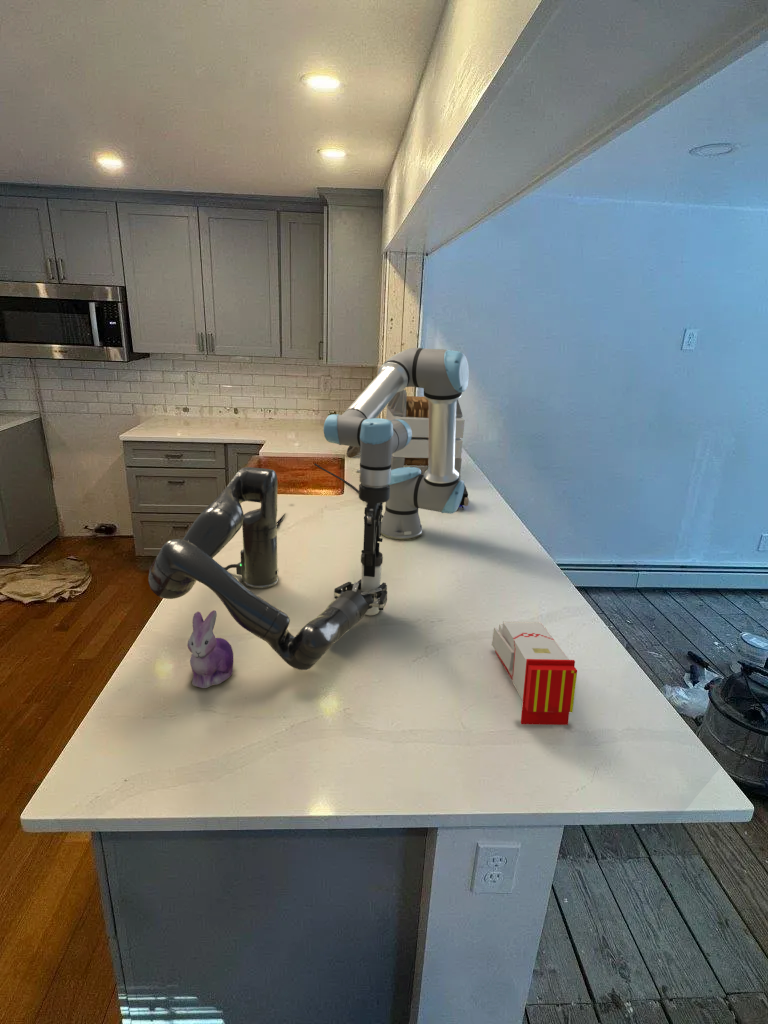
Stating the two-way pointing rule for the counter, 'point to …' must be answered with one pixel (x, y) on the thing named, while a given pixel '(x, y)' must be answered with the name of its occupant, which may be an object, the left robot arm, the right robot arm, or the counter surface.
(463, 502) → the figurine character
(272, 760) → the counter surface
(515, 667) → the toy
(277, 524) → the feather
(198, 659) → the figurine
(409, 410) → the white wooden crate
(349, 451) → the fossil
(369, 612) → the jar
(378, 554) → the lid
